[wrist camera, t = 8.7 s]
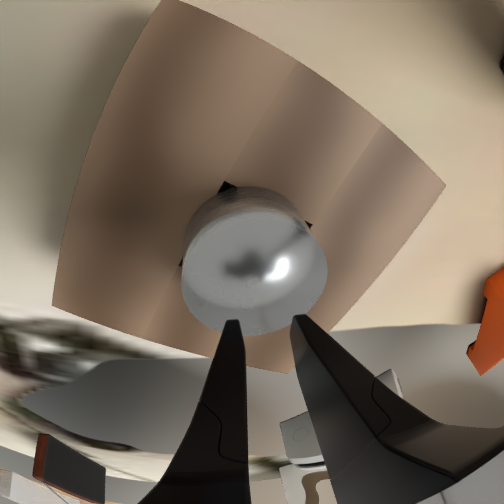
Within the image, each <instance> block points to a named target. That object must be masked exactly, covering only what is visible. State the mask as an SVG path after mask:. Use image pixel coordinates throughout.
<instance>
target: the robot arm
mask: <svg viewBox="0 0 504 504" xmlns="http://www.w3.org/2000/svg"><path fill="white" fill-rule="evenodd" d="M501 68H502V70H503V72H504V57H503V59H502V61H501ZM290 341H291V346H292V351H293V357H294V362H295V367H296V372H297V377H298V380H299V384H300V387H301V390H302V393H303V396H304V399H305V402H306V406H307V408H308V412H309V415H310V418H311V421H312V424H313V428H314V431H315V434H316V437H317V440H318V443H319V446H320V450H321V453H322V456H323V459H324V462H325V465H326V468H327V472H328V475H329V478H330V479H331V480H330V481H331V485H332V488H333V491H334V494H335V497H336V500H337V504H504V426H503V427H500V428H493V429H492V428H476V427H465V426H456V425H447V424H443V423H440V422H437V421H435V420H433V419H431V418H430V417H428V416H427V415H425V414H424V413H422V412H421V411H420V410H418V409H417V408H415V407H414V406H412V405H411V404H410V403H408V402H407V401H405V400H404V399H403V398H401V397H400V396H399V395H397V394H396V393H395V392H393V391H392V390H391V389H390V388H388V387H387V386H386V385H385V384H384V383H383V382H381V381H380V380H379V379H378V378H377V377H374V375H373V374H372V373H371V372H370V371H369V370H368V369H366V367H364V366H363V365H362V364H361V363H360V362H359V361H358V360H357V359H355V358H354V357H353V356H352V355H351V354H350V353H349V352H347V350H345V349H344V348H343V347H342V346H341V345H340V344H339V343H338V342H336V341H335V340H334V339H333V338H332V337H331V336H330V335H329V334H328V333H326V332H325V331H324V330H323V329H322V328H321V327H320V326H319V325H318V324H316V323H315V322H314V321H313V320H312V319H311V318H310V317H309V316H308V315H306V314H297V315H294V316H293V318H292V323H291V328H290ZM246 386H247V385H246V349H245V343H244V339H243V334H242V330H241V326H240V321H239V320H238V319H229V320H226V322H225V325H224V328H223V331H222V334H221V337H220V340H219V343H218V346H217V349H216V352H215V355H214V358H213V361H212V364H211V367H210V369H209V373H208V375H207V378H206V381H205V384H204V387H203V391H202V393H201V396H200V399H199V402H198V405H197V408H196V410H195V413H194V416H193V418H192V421H191V424H190V426H189V428H188V430H187V432H186V434H185V436H184V438H183V440H182V442H181V444H180V446H179V448H178V450H177V452H176V453H175V455H174V457H173V459H172V461H171V463H170V465H169V467H168V468H167V470H166V472H165V473H164V475H163V476H162V478H161V479H160V481H159V482H158V484H157V485H156V486H155V487H154V488H153V489H152V490H151V491H150V492H149V493H148V494H147V495H146V496H145V497H144V498H143V499H142V500H141V501H140V502H139V503H138V504H251V496H250V486H249V468H248V430H247V387H246Z"/></svg>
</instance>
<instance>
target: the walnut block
mask: <svg viewBox="0 0 504 504" xmlns="http://www.w3.org/2000/svg"><path fill="white" fill-rule="evenodd" d="M224 181H226V182H228V183H230V184H232V185H234V186H236V187H245V186H255V187H262V188H266V189H270V190H272V191H275V192H277V193H279V194H281V195H282V196H284V197H286V198H287V199H288V200H289V201H290V202H292V204H293V205H294V206H295V207H296V208H297V210H298V211H299V213H300V214H301V216H302V218H303V219H304V221H305V222H306V224H307V225H308V227H309V229H310V230H311V232H312V233H313V235H314V237H315V238H316V240H317V241H318V243H319V245H320V246H321V248H322V250H323V252H324V254H325V257H326V261H327V270H328V272H327V280H326V284H325V287H324V289H323V292H322V294H321V296H320V297H319V299H318V301H317V302H316V303H315V304H314V306H313V307H312V308H311V309H310V310H309V311H308V312H307V313H306V315H308V316H309V317H310V318H311V319H312V320H313V321H314V322H315V323H316V324H318V325H319V326H320V327H321V328H322V329H323V330H324V331H325V332H326V333H328V332H329V331H330V330H331V329H332V328H333V327H334V326H335V325H336V324H337V323H338V322H339V321H340V320H341V319H342V317H343V316H344V315H345V314H346V313H347V312H348V311H349V310H350V309H351V307H352V306H353V305H354V304H355V303H356V302H357V301H358V300H359V298H360V297H361V296H362V295H363V294H364V293H365V292H366V290H367V289H368V288H369V287H370V286H371V285H372V283H373V282H374V281H375V280H376V279H377V277H378V276H379V275H380V274H381V273H382V271H383V270H384V269H385V268H386V266H387V265H388V264H389V263H390V262H391V260H392V259H393V258H394V257H395V255H396V254H397V253H398V251H399V250H400V249H401V248H402V246H403V245H404V244H405V242H406V241H407V240H408V239H409V237H410V236H411V235H412V233H413V232H414V231H415V229H416V228H417V227H418V225H419V224H420V223H421V221H422V220H423V218H424V217H425V216H426V214H427V213H428V211H429V210H430V209H431V207H432V206H433V204H434V203H435V202H436V200H437V199H438V197H439V196H440V194H441V193H442V191H443V190H444V188H445V187H446V184H445V183H444V182H443V181H442V180H441V179H440V178H439V177H438V176H437V175H436V174H435V173H434V172H433V171H432V170H431V169H430V168H429V167H428V166H427V165H426V163H425V162H424V161H423V160H421V159H420V158H419V157H418V156H417V155H416V154H415V153H414V152H413V151H412V150H411V149H410V148H409V147H408V146H407V145H406V144H405V143H404V142H403V141H402V140H400V139H399V138H398V137H397V136H396V135H395V134H394V133H393V132H392V131H390V130H389V129H388V128H387V127H386V126H385V125H384V124H382V123H381V122H380V121H379V120H378V119H377V118H375V117H374V116H373V115H372V114H370V113H369V112H368V111H367V110H366V109H364V108H363V107H362V106H361V105H359V104H358V103H357V102H355V101H354V100H353V99H352V98H350V97H349V96H348V95H346V94H345V93H344V92H342V91H341V90H340V89H338V88H337V87H336V86H334V85H333V84H331V83H330V82H329V81H327V80H326V79H324V78H323V77H321V76H320V75H319V74H317V73H316V72H314V71H313V70H311V69H310V68H308V67H307V66H305V65H304V64H302V63H300V62H299V61H297V60H296V59H294V58H293V57H291V56H289V55H288V54H286V53H284V52H283V51H281V50H279V49H278V48H276V47H274V46H273V45H271V44H269V43H267V42H266V41H264V40H262V39H260V38H258V37H257V36H255V35H253V34H251V33H249V32H247V31H245V30H243V29H241V28H239V27H238V26H236V25H234V24H232V23H229V22H227V21H225V20H223V19H221V18H219V17H217V16H215V15H212V14H210V13H208V12H206V11H203V10H201V9H199V8H196V7H194V6H192V5H189V4H187V3H184V2H182V1H179V0H161V2H160V3H159V5H158V6H157V8H156V10H155V11H154V13H153V14H152V16H151V17H150V19H149V21H148V22H147V24H146V26H145V27H144V29H143V31H142V32H141V34H140V36H139V38H138V39H137V41H136V43H135V45H134V47H133V48H132V50H131V52H130V54H129V56H128V58H127V60H126V62H125V64H124V66H123V68H122V70H121V72H120V74H119V76H118V78H117V80H116V82H115V84H114V86H113V88H112V91H111V93H110V95H109V97H108V100H107V102H106V104H105V107H104V109H103V111H102V114H101V116H100V119H99V121H98V124H97V126H96V129H95V131H94V134H93V137H92V139H91V142H90V145H89V148H88V150H87V153H86V156H85V159H84V162H83V165H82V168H81V171H80V175H79V178H78V181H77V185H76V188H75V192H74V195H73V199H72V202H71V206H70V210H69V214H68V218H67V222H66V226H65V231H64V235H63V240H62V245H61V250H60V255H59V260H58V266H57V272H56V278H55V285H54V292H53V299H52V306H54V307H57V308H59V309H61V310H64V311H66V312H69V313H72V314H74V315H77V316H79V317H82V318H84V319H87V320H90V321H93V322H95V323H98V324H101V325H104V326H106V327H109V328H112V329H115V330H118V331H121V332H124V333H127V334H130V335H133V336H136V337H139V338H142V339H146V340H149V341H152V342H155V343H159V344H162V345H166V346H169V347H173V348H176V349H180V350H183V351H187V352H191V353H195V354H198V355H202V356H206V357H210V358H214V355H215V352H216V349H217V346H218V343H219V340H220V337H221V334H222V333H221V332H219V331H216V330H213V329H211V328H209V327H207V326H206V325H204V324H203V323H201V322H200V321H199V320H198V319H196V318H195V316H194V315H193V314H192V313H191V312H190V310H189V309H188V307H187V305H186V303H185V301H184V298H183V294H182V286H181V283H182V262H183V245H184V235H185V231H186V227H187V225H188V223H189V220H190V219H191V217H192V216H193V214H194V213H195V211H196V210H197V209H198V208H199V207H200V206H201V205H202V204H203V203H204V202H205V201H207V200H208V199H210V198H211V197H213V196H214V195H216V194H217V193H218V191H219V189H220V187H221V185H222V184H223V182H224ZM290 328H291V324H290V325H288V326H286V327H284V328H282V329H280V330H277V331H274V332H271V333H266V334H262V335H255V336H243V339H244V343H245V349H246V366H250V367H255V368H259V369H264V370H269V371H275V372H280V373H285V374H288V373H289V372H290V371H291V370H292V369H293V368H294V367H295V362H294V357H293V351H292V346H291V341H290Z"/></svg>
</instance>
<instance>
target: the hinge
mask: <svg viewBox="0 0 504 504" xmlns="http://www.w3.org/2000/svg"><path fill="white" fill-rule="evenodd" d="M376 377H377V378H378V379H379V380H380V381H381V382H383V383H384V384H385V385H386V386H387V387H388V388H390V389H391V390H392V391H393V392H395V393H396V394H397V395H399V396H400V397H401V398H403V399H404V396H403V393H402V390H401V386H400V383H399V380H398V379H397V377H396V373H395V372H394V371H393V370H392V369H391V368H390V369H389V370H387V371H385V372H383V373H382V374H380V375H378V376H376ZM280 428H281V432H282V436H283V441H284V446H285V450H286V455H287V457H288V459H289V460H290V462H291V463H293V464H295V466H296V467H298V468H300V469H302V470H320V469H327V468H326V465H325V462H324V459H323V456H322V453H321V450H320V446H319V443H318V440H317V437H316V434H315V431H314V428H313V424H312V421H311V418H310V415H309V412H308V411H306V412H304V413H302V414H300V415H297V416H295V417H292V418H290V419H288V420H285V421H283V422H280Z"/></svg>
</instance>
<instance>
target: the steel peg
mask: <svg viewBox="0 0 504 504" xmlns="http://www.w3.org/2000/svg"><path fill="white" fill-rule="evenodd" d="M327 272H328V270H327V261H326V257H325V254H324V252H323V250H322V248H321V246H320V245H319V243H318V241H317V240H316V238H315V237H314V235H313V233H312V232H311V230H310V229H309V227H308V225H307V224H306V222H305V221H304V219H303V218H302V216H301V214H300V213H299V211H298V210H297V208H296V207H295V206H294V205H293V204H292V202H290V201H289V200H288V199H287V198H286V197H284V196H282V195H281V194H279V193H277V192H275V191H272V190H270V189H266V188H262V187H255V186H245V187H236V186H234V185H232V184H230V183H228V182H226V181H224V182H223V184H222V185H221V187H220V189H219V191H218V193H217V194H216V195H214V196H213V197H211V198H210V199H208V200H207V201H205V202H204V203H203V204H202V205H201V206H200V207H199V208H198V209H197V210H196V211H195V213H194V214H193V216H192V217H191V219H190V220H189V223H188V225H187V227H186V231H185V235H184V245H183V262H182V283H181V286H182V294H183V298H184V301H185V303H186V305H187V307H188V309H189V310H190V312H191V313H192V314H193V315H194V316H195V318H196V319H198V320H199V321H200V322H201V323H203V324H204V325H206V326H207V327H209V328H211V329H213V330H216V331H219V332H221V333H222V331H223V328H224V325H225V322H226V320H229V319H238V320H239V321H240V326H241V330H242V334H243V336H255V335H262V334H266V333H271V332H274V331H277V330H280V329H282V328H284V327H286V326H288V325H290V324H291V323H292V318H293V316H294V315H297V314H306V313H307V312H308V311H309V310H310V309H311V308H312V307H313V306H314V304H315V303H316V302H317V301H318V299H319V297H320V296H321V294H322V292H323V289H324V287H325V284H326V280H327Z"/></svg>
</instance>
